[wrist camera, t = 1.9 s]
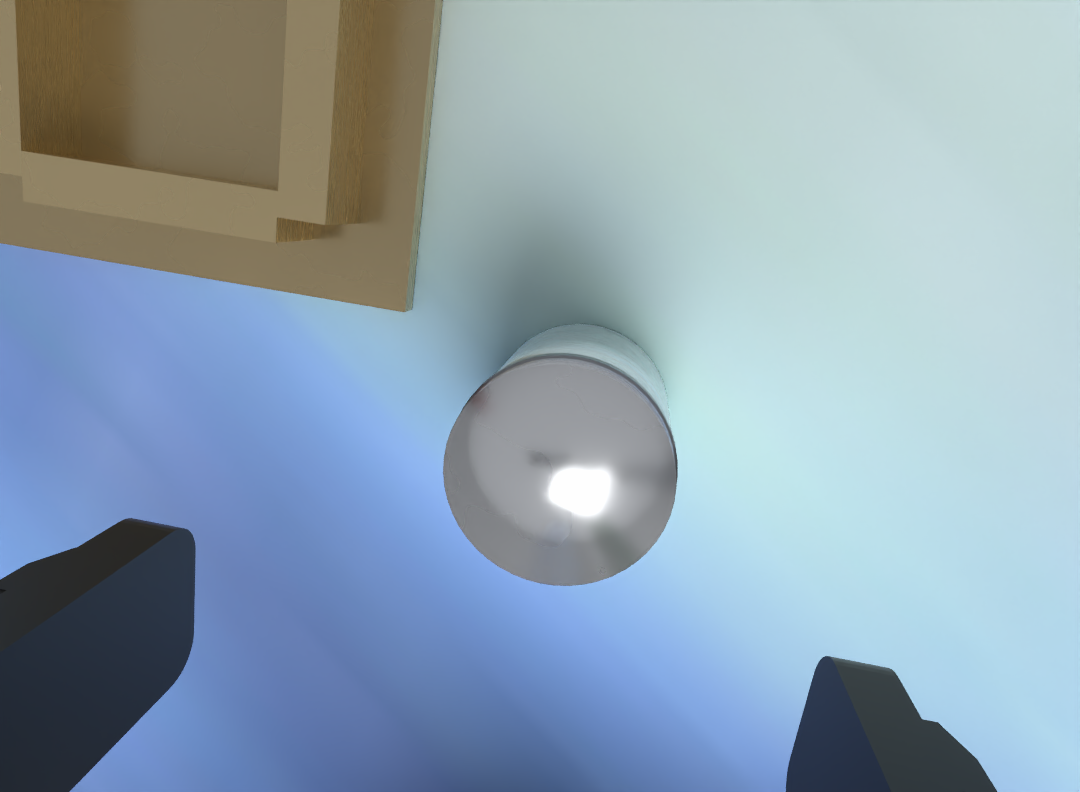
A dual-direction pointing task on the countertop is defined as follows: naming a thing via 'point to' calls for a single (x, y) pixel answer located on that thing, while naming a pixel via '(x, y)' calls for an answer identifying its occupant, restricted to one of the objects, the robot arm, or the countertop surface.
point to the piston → (565, 458)
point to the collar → (222, 138)
